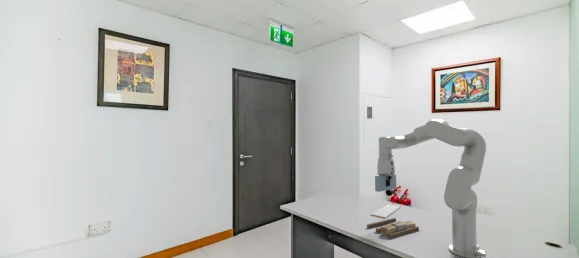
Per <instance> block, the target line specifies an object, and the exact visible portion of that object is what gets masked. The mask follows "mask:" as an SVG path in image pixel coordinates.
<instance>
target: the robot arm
mask: <svg viewBox="0 0 579 258" xmlns="http://www.w3.org/2000/svg"><path fill="white" fill-rule="evenodd" d="M433 139H436V140H438V141H441V142H443V143H445V144H447V145H450V146H453V147H463V152H462V154H461V157H460V162H459V166H458V167H455V168H453V169H452V170H451V171H450V172H449V174H448V176H447V181H446V185H445V189H444V194H443V200H444V203H445V205H446V206H447V207H448V208H450V209H451V210H452V211H451V225H452V226H451V230H452V233H451V235H452V237H451V238H452V244H449V246H448V250H449V251H450V252H451V253H452V254H454V255H456V256H459V257H461V258H481V257H483V258H486V257H487V252H486V250H482V249H480V245H479V244H477V243H478V241H477V207H478V196H477V194H476V192H475V191H474V190H473V189H472V186H475V185H476V184H478V183H479V182H480V179H481V174H482V169H483V166H484V161H485V156H486V154H487V153H486V152H487V143H486V140H485V139H484V137H483V135H481V134H480V133H479V132H477V131H476V130H474V129H471V128H468V127H467V128H465V127H464V128H462V127H460V128H458V127H455V126H452V125H450V123H449V122H448V121H447V120H445V119H431V120H428V121H427V122H426V123H425V124H424V125H421V126H417V127H415V128H414V129H413V131H412V132H410V133H407V134H405V135H400V136H399V135H397V136H395V135H394V136H380V137H378V158H377V160H378V161H377V167H376V168H377V173H376V174H377V176H381V175H386V179H387V180H386V186H390V180H391V178H393V177H395V175H394V174H396V167H395V162H394V159H393V158H394V155H393V150H398V149H399V150H400V149H406V148H409V147H413V146H417V145H419V144H421V143H424V142H427V141H431V140H433ZM388 176H389V177H388Z"/></svg>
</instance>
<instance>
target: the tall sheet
mask: <svg viewBox="0 0 579 258" xmlns="http://www.w3.org/2000/svg"><path fill="white" fill-rule="evenodd" d="M394 175H395V177H393V178H391V180H390V186H386V180H387V179H386V175H381V176H379V175H375V176H374V189H375V190H374V191H375V192H378V193H379V192H385V191H391V190H396V189H397V174H396V173H395V174H394ZM388 177H389V176H388Z"/></svg>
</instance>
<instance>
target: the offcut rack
mask: <svg viewBox="0 0 579 258" xmlns="http://www.w3.org/2000/svg"><path fill="white" fill-rule="evenodd" d="M403 221H404V220H403ZM403 221H401V222H403ZM393 222H397V218H396V217H393V218H386V219H385V220H380V221H376V222H371V223H368V224H366V228H367V229H369V230H370V229H373V228H375V233H377V234H381V227H382V226H385V225H388V224H391V223H393ZM419 230H420V227H419V226H417V225H415V227H412V228H408V229H405V230H401V231H398V232H394V233H391V234H388V237H387V238H388V239H390V240H391V239H395V238H399V237H400V236H405V235H408V234H411V233H414V232H417V231H418V232H419Z"/></svg>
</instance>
